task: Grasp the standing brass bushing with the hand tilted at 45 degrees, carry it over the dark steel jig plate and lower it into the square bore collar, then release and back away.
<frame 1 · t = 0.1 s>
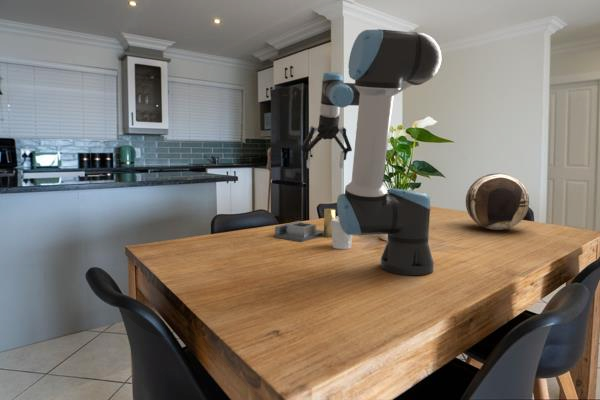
hand: (324, 167, 158), 28 cm above the table, tool tilted 20°, fingers open, 13 cm apart
jig: (301, 236, 158), on the table
bushing: (329, 236, 159), on the table
sphere: (494, 230, 174), on the table
white cup: (341, 247, 141), on the table
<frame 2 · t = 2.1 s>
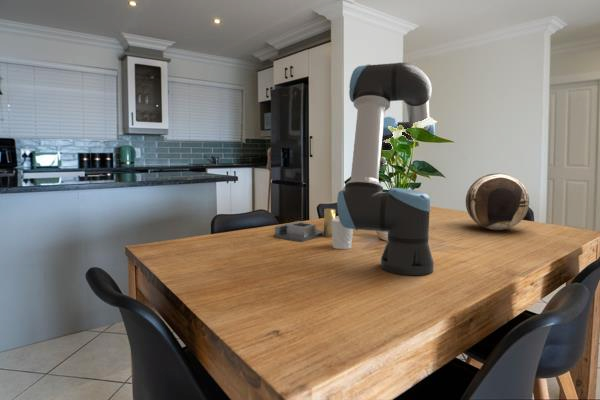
hand: (350, 199, 163), 14 cm above the table, tool tilted 45°, fingers open, 13 cm apart
nothing on the table moved.
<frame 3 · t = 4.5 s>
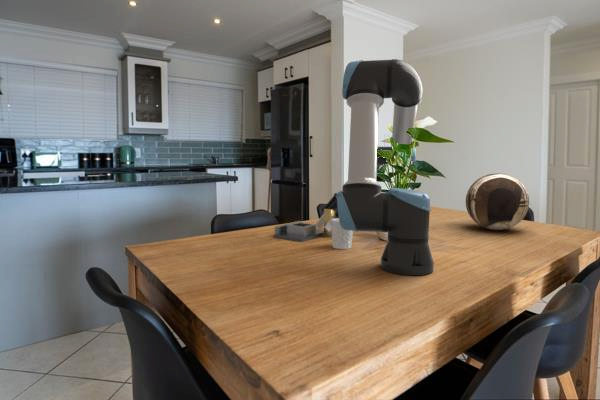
hand: (322, 227, 157), 4 cm above the table, tool tilted 45°, fingers open, 6 cm apart
bushing: (329, 236, 159), on the table, touching gripper
everything else where it was.
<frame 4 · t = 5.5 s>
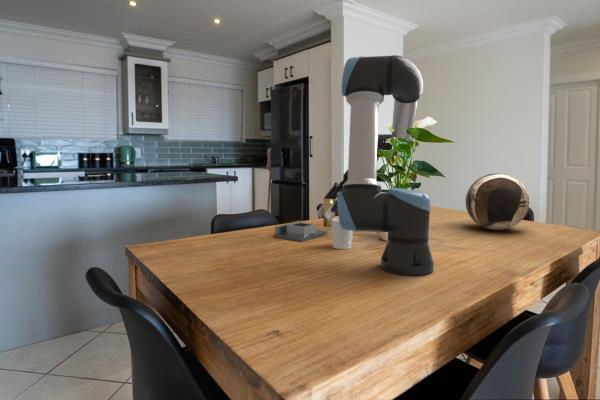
hand: (322, 216, 156), 8 cm above the table, tool tilted 45°, fingers closed on bushing, 5 cm apart
bushing: (329, 226, 158), point 4 cm above the table, touching gripper
everything else where it was.
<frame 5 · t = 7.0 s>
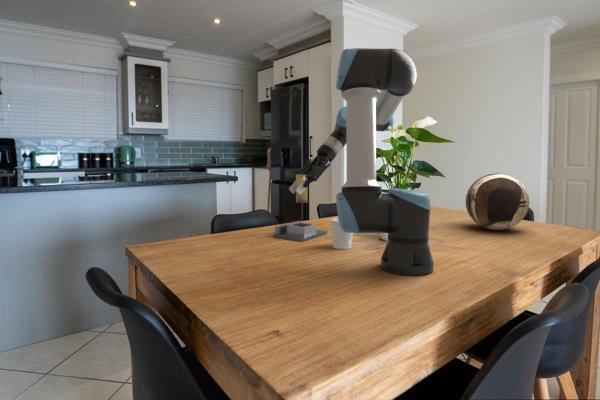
hand: (294, 191, 154), 18 cm above the table, tool tilted 45°, fingers closed on bushing, 5 cm apart
bushing: (301, 202, 157), point 14 cm above the table, touching gripper
everything else where it was.
when the fingers open (6 cm above the table, at t = 8.9 s): bushing stays where it is, resting on jig.
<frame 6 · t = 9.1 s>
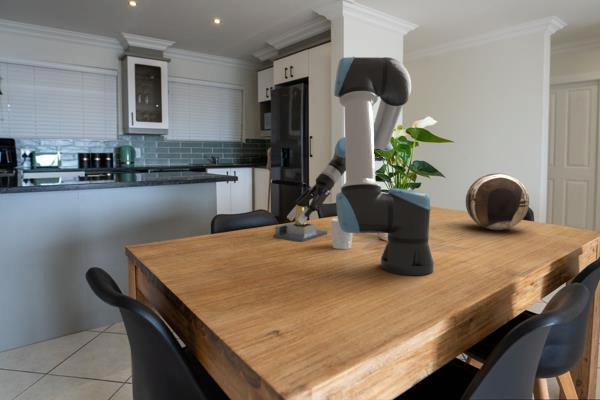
hand: (294, 220, 156), 7 cm above the table, tool tilted 45°, fingers open, 7 cm apart
bushing: (300, 233, 158), point 1 cm above the table, touching jig
everything else where it was.
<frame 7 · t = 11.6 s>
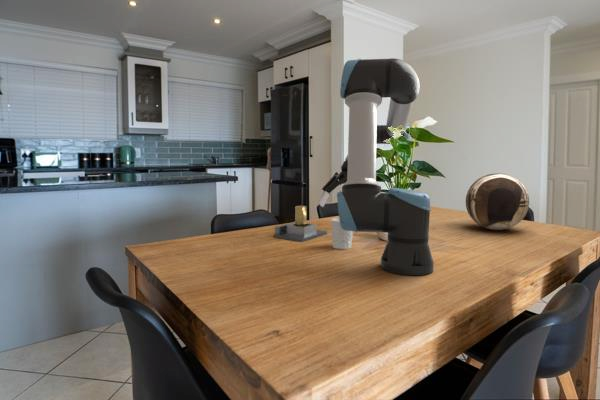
hand: (330, 206, 162), 11 cm above the table, tool tilted 35°, fingers open, 13 cm apart
nothing on the table moved.
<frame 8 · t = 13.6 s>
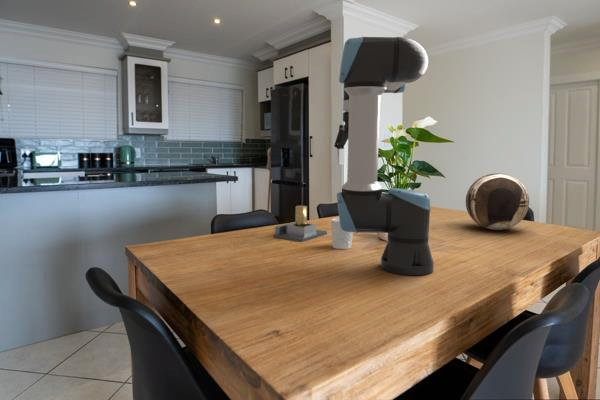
hand: (351, 165, 159), 29 cm above the table, tool pointing down, fingers open, 13 cm apart
nothing on the table moved.
at the end: bushing 0.3 cm off-centre on the jig, point 1.3 cm above the jig's base; bushing tilted 1°; the gripper is holding nothing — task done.
